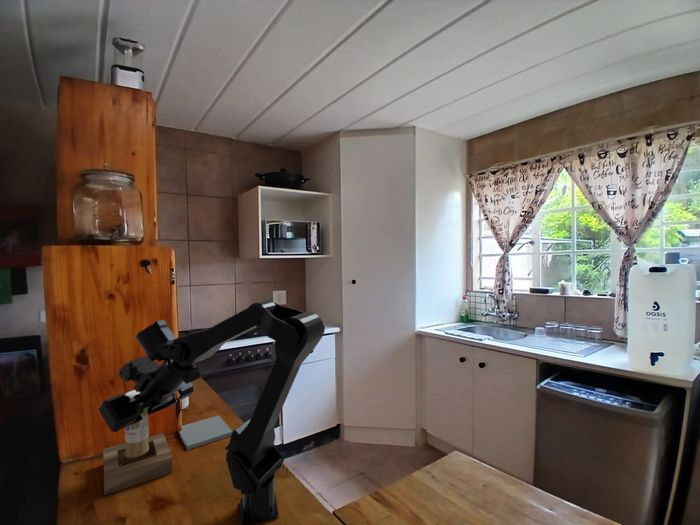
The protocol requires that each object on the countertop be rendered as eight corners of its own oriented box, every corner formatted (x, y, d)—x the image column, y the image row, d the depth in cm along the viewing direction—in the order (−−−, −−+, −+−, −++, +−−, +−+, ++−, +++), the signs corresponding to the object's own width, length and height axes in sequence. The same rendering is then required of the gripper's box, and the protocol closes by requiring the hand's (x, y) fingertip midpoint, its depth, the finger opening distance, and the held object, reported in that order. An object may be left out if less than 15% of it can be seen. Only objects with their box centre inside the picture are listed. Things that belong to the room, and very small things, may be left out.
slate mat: (232, 435, 91) (232, 431, 91) (187, 450, 84) (187, 446, 84) (218, 418, 99) (218, 415, 99) (176, 431, 93) (176, 427, 93)
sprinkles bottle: (119, 457, 75) (118, 395, 74) (136, 445, 79) (135, 387, 79) (138, 460, 74) (136, 397, 74) (154, 448, 78) (153, 389, 78)
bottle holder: (172, 472, 76) (172, 457, 75) (104, 495, 69) (104, 477, 68) (163, 446, 85) (163, 432, 85) (103, 464, 78) (103, 448, 78)
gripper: (183, 336, 83) (151, 376, 88) (103, 360, 66) (67, 408, 70) (210, 373, 81) (175, 412, 85) (134, 408, 63) (95, 454, 68)
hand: (132, 419), depth 77 cm, fingers closed on sprinkles bottle, 4 cm apart
